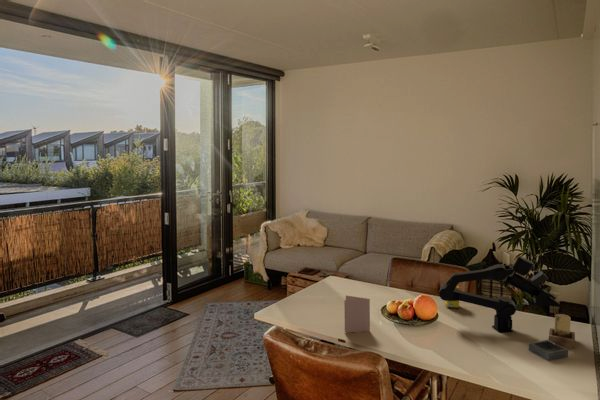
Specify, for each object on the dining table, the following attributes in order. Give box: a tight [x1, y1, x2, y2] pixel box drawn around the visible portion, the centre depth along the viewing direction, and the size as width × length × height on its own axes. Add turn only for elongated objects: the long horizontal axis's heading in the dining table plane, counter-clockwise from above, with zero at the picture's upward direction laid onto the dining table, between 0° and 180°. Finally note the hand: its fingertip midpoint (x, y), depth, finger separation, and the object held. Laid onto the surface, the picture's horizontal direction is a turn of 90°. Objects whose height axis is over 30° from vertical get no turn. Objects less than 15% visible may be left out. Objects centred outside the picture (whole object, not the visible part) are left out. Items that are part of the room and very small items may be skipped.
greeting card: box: [343, 295, 371, 333], centre depth 194 cm, size 11×7×15 cm, turn 62°
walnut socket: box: [548, 327, 576, 349], centre depth 180 cm, size 9×9×4 cm
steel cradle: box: [527, 339, 569, 362], centre depth 170 cm, size 10×10×3 cm
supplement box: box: [444, 284, 460, 309], centre depth 222 cm, size 6×6×11 cm
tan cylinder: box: [553, 313, 572, 338], centre depth 180 cm, size 6×6×11 cm
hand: (557, 302), depth 185 cm, fingers open, 9 cm apart
